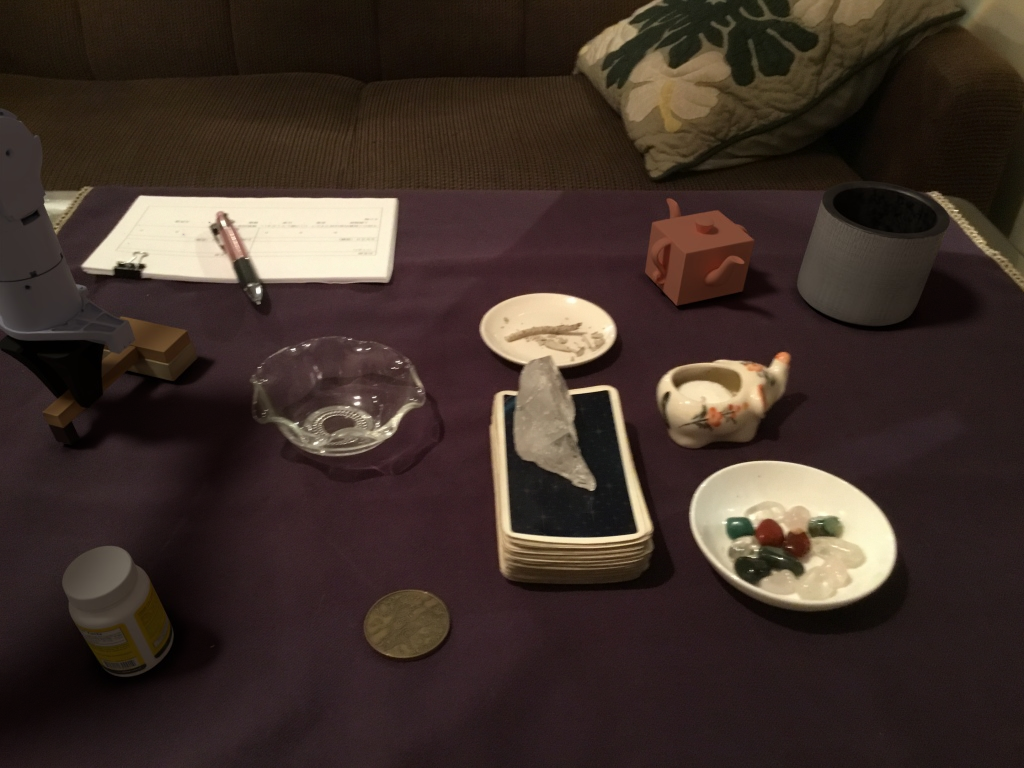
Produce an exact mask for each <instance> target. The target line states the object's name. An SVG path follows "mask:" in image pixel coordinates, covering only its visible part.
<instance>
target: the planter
mask: <svg viewBox="0 0 1024 768" xmlns="http://www.w3.org/2000/svg"><path fill="white" fill-rule="evenodd" d="M950 223H951V218H950V215H949V213H948V211H947V210H946V209H945V207H943V206H942V205H941V204H940V203H939V202H938V201H936V200H935V199H933V198H931V197H929V196H928V195H925V194H923V193H921V192H920V191H916V190H914V189H911V188H908V187H905V186H902V185H898V184H893V183H887V182H881V181H872V180H857V181H856V180H855V181H848V182H842V183H838V184H835V185H833V186H831V187H829V188H828V189H827V190H825V191H824V192H823V194H822V197H821V200H820V204H819V207H818V211H817V214H816V217H815V220H814V224H813V227H812V230H811V232H810V237H809V240H808V243H807V246H806V249H805V253H804V256H803V259H802V262H801V265H800V268H799V271H798V274H797V282H796V286H797V290H798V292H799V295H800V296H801V298H803V300H804V301H805V302H806V303H807V304H808V305H809V306H810V307H812V308H813V309H814V310H816V311H818V312H819V313H821V314H822V315H824V316H826V317H828V318H831V319H833V320H836V321H838V322H841V323H845V324H849V325H854V326H859V327H883V326H885V327H886V326H890V325H891V326H892V325H894V324H895V325H896V324H898V323H901V322H904V321H905V320H907V319H908V318H909V317H911V315H912V314H913V313H914V312H915V309H916V308H917V306H918V303H919V301H920V299H921V297H922V294H923V292H924V288H925V286H926V283H927V281H928V278H929V276H930V273H931V270H932V268H933V266H934V264H935V261H936V258H937V256H938V253H939V251H940V249H941V245H942V244H943V240H944V238H945V236H946V234H947V232H948V229H949V226H950Z"/></svg>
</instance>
